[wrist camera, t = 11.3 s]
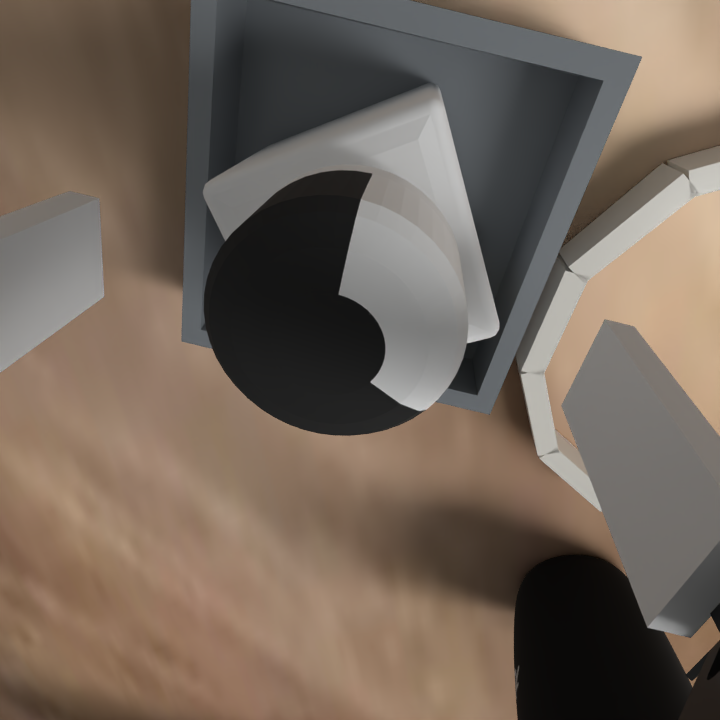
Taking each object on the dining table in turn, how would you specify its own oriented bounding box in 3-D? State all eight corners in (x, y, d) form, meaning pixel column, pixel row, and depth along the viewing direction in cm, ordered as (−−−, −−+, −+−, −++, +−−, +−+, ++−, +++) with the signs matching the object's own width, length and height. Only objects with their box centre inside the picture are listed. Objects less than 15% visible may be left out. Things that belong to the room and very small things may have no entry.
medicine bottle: (328, 304, 24) (252, 493, 14) (262, 147, 21) (100, 241, 11) (483, 259, 22) (529, 440, 12) (437, 78, 19) (446, 113, 9)
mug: (475, 563, 33) (492, 744, 25) (618, 520, 30) (695, 711, 21) (551, 664, 38) (587, 846, 29) (682, 636, 35) (766, 832, 26)
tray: (481, 366, 26) (489, 414, 22) (214, 302, 26) (181, 341, 22) (603, 55, 19) (642, 56, 15) (235, -34, 19) (192, -53, 15)
